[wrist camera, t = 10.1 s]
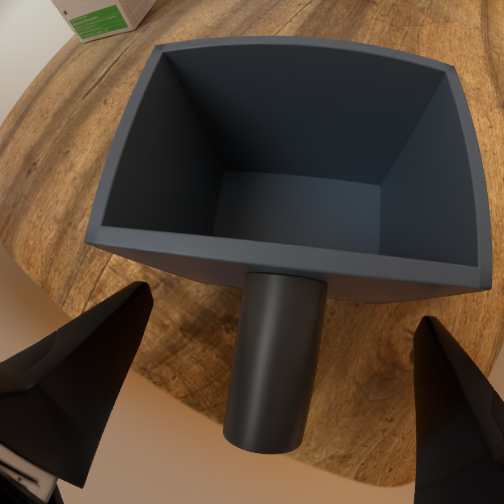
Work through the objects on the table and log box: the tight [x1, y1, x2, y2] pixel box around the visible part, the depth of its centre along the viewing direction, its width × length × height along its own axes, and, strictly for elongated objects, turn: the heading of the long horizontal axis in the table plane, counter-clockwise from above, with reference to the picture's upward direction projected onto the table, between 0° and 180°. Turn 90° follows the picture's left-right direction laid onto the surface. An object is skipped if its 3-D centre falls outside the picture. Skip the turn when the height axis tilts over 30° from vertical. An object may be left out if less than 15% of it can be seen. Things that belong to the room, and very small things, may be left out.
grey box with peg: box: [84, 35, 492, 454], centre depth 11 cm, size 12×10×10 cm
